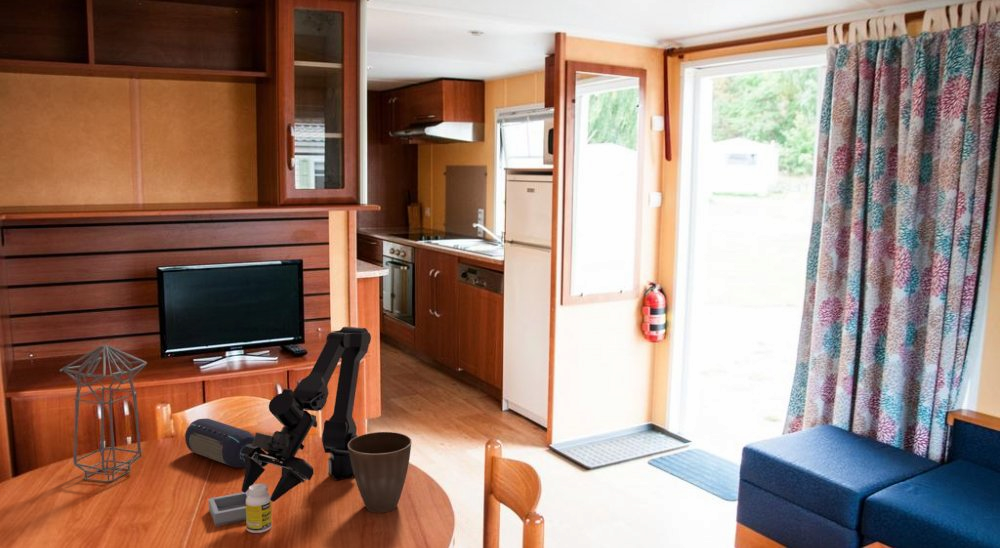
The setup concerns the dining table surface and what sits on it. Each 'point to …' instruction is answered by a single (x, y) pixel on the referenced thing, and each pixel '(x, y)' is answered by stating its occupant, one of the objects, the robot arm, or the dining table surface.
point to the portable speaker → (218, 441)
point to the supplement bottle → (258, 509)
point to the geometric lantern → (95, 357)
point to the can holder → (228, 508)
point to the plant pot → (380, 468)
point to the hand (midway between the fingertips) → (257, 496)
